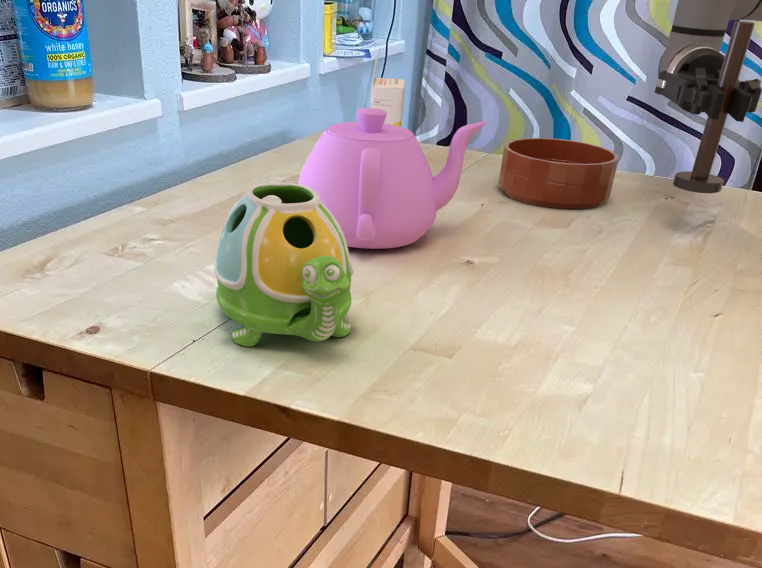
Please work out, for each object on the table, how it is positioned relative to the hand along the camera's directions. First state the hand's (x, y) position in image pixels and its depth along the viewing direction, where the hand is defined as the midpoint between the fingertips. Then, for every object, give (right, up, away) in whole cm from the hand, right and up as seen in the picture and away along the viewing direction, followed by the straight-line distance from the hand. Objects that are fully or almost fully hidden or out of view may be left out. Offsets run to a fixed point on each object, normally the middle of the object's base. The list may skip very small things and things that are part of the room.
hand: (731, 107), depth 93 cm
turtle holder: (-50, -31, -18) cm, 61 cm away
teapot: (-40, -13, +6) cm, 43 cm away
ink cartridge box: (-39, +9, +34) cm, 53 cm away
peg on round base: (0, -5, +10) cm, 11 cm away
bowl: (-14, +1, +26) cm, 30 cm away
